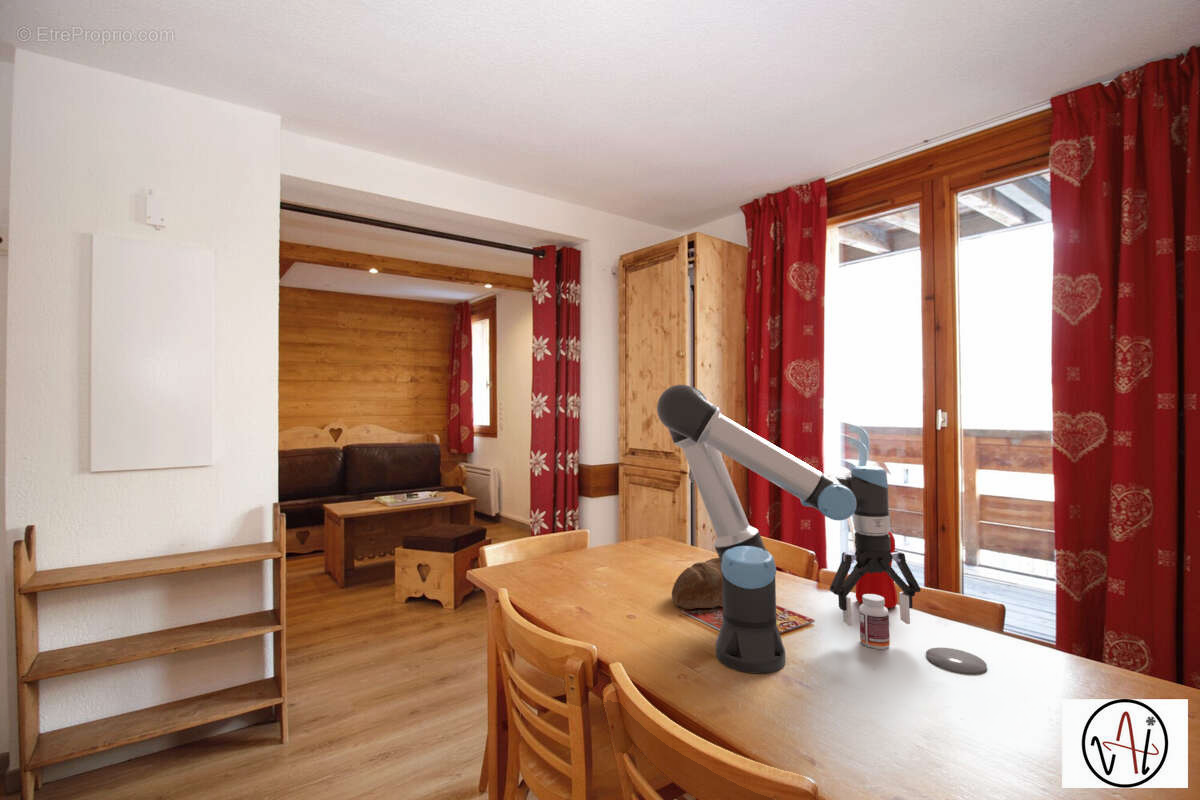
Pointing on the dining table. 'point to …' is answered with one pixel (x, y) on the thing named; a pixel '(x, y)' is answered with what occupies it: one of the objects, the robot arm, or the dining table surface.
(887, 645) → the pill bottle
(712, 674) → the dining table surface
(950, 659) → the coaster
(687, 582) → the bread
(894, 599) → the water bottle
